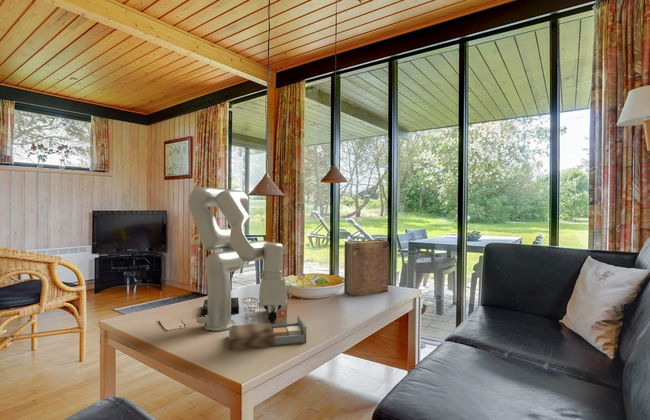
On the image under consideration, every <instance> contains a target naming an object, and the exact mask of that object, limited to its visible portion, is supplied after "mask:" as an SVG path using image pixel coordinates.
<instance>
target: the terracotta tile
mask: <svg viewBox="0 0 650 420" xmlns="http://www.w3.org/2000/svg"><path fill="white" fill-rule="evenodd" d="M273 332H274V341H275V337H279V336H287V330H286V327H284V328H273Z"/></svg>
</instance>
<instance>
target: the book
mask: <svg viewBox="0 0 650 420" xmlns="http://www.w3.org/2000/svg"><path fill="white" fill-rule="evenodd" d="M389 248H390V247H389V241H388V240H381V239H372V240H359V241H358V240H355V241H344V269H343V270H344V275H343V276H344V278H343V281H344V282H343V283H344V284H343V285H344V288H343V289H344V291H343V292H344V294H349V295H351V296H353V297H358V296H364V295H365V296H366V295H372V294H379V293H385V292H389Z"/></svg>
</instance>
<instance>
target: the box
mask: <svg viewBox="0 0 650 420" xmlns="http://www.w3.org/2000/svg"><path fill="white" fill-rule="evenodd" d="M296 316H297V317H296V318H297V320H296V321H297V322H293V323H291V322H290V323H284V324H271V327H272V330H273V328H284V327H290V326H299V327H300V328H301V334H300V335H289V336H279V337H275V341H274V347H276V346H286V345H294V344H295V345H297V344H304V343H306V344H307V326H306V324H305V322H304V321H303V319H302V317H301V315H296Z"/></svg>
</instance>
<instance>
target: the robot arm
mask: <svg viewBox="0 0 650 420" xmlns="http://www.w3.org/2000/svg"><path fill="white" fill-rule="evenodd" d="M187 201H188V202H187V203H188V204H187V205H188V209H189V212H190V214H191V216H192V218H193V220H194V223H195V226H196V229H197V233H198V236H199V238H200V241H201V244H202V247H203V249H205V250H206V251H216V250H221V251H217V252H213V253H211V254H209V255H208V256H207V257H206V258H205V260H204V268H205V272H206V280H207V282H206V284H207V285H206V286H207V300H208V315H207V316H204V317H197V318H196V323H197V324H199V325H200V324H203V328H204V330H207V331H209V330H211V332H220V331H221V332H222V331H227V330H229V326H236V324H235V321H234V320H233V319H232V314H231V298H232V283H231V280H230V278H229V276H228V274H229V273H233V272H236V271H240V270H242V268H243V266H244V264H245V263H244V262H247V263H249V262H250V263H251V262H255V261H260V260H263V262H262V263H263V266H262V268H263V270H262V271H261V272H259V273H258V274H259V277H260V276H261V280H260V286H259V293H258V294H259V295H258V296H259V297H258V300H259V302H258V308H259V309H265V310H266V311H267V312H268V313H267V314H268V317H267V318H268V321H270V322H269V323H270V324H273V323H275V320H276V316H277V311H278V310H279V309H280V308H281V307H284V306H286V301H287V283H286V278H285V277H284V245H283V243H281V242H275V241H274V242H271V241H267V240H262V239H261V240H253V241H249V240H248V239H247V237H246V235H245V233H244V230H243V228H244V227H245V226H247V225H248V223H249V222H250V219H251V218H250V215H249V214H248V212H247V211H246V208H247V207H248V206H249V198H248V195H247V194H246V193H245V192H244V191H241V190H235V189H230V188H226V187H225V188H222V187H210V186H208V187H206V186H203V187H197V188H194V189H192V191H191V192H190V194H189V196H188V200H187ZM209 208H219V209H220V212H221V213H222V215H223V217H224V218H225V220H226V221H227V223H228V225H229V226H230V227H226V226H224V227H220V226H219V225H218V222H217V219H216V216H215V215H214V214H213V212H212V211H211V210H210V209H209ZM273 305H274V309H273V311H272V310H271V306H273Z"/></svg>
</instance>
